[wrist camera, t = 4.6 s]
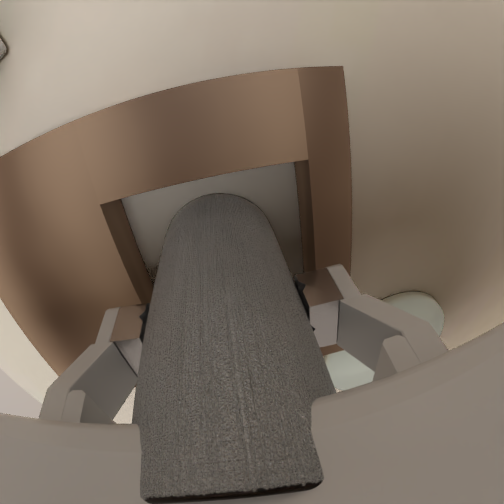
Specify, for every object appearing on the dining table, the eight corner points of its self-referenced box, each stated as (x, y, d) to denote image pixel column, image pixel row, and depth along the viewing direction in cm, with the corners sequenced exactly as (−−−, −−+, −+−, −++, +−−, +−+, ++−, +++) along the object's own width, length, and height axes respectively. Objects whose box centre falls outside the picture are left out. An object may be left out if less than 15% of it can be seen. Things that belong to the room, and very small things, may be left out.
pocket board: (321, 68, 9) (342, 66, 8) (332, 324, 16) (344, 350, 15) (-26, 174, 9) (-51, 190, 7) (77, 364, 16) (70, 389, 14)
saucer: (451, 276, 16) (458, 283, 15) (421, 361, 21) (425, 368, 20) (324, 313, 16) (328, 324, 15) (321, 395, 20) (324, 403, 20)
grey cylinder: (195, 298, 14) (202, 528, 5) (146, 219, 12) (74, 494, 3) (285, 264, 14) (370, 494, 5) (250, 174, 11) (364, 461, 3)
